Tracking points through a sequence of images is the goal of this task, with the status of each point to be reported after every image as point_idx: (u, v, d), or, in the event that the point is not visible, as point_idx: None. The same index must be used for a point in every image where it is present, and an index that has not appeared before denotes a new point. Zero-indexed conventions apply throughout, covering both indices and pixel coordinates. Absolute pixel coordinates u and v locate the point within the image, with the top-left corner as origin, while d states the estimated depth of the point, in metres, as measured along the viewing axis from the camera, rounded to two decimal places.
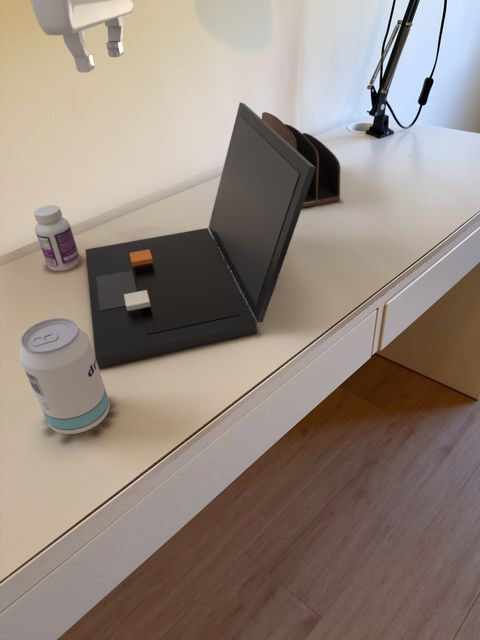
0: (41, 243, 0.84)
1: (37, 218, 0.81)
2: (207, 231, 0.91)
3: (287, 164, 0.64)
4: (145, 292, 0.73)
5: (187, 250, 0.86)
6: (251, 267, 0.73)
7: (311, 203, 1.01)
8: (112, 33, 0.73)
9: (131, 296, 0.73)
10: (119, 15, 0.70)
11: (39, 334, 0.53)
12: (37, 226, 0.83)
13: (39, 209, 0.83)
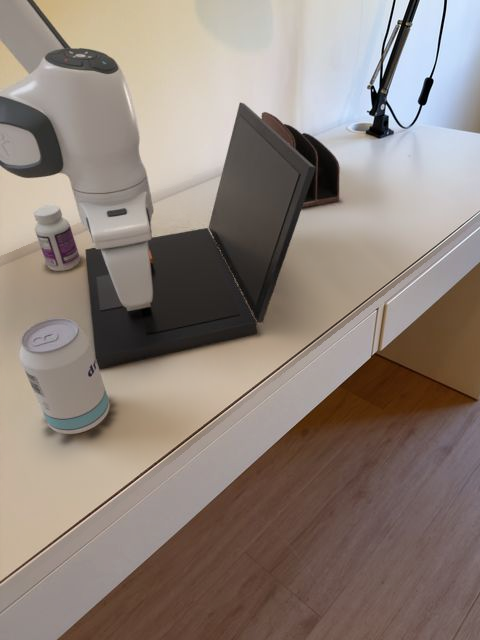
0: (41, 243, 0.84)
1: (37, 218, 0.81)
2: (207, 231, 0.91)
3: (287, 164, 0.64)
4: None
5: (187, 250, 0.86)
6: (251, 267, 0.73)
7: (310, 203, 1.01)
8: None
9: None
10: None
11: (39, 334, 0.53)
12: (37, 226, 0.83)
13: (39, 209, 0.83)
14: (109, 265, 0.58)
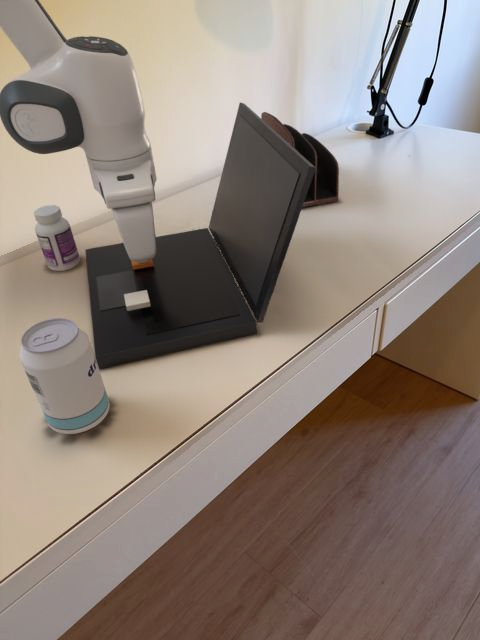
0: (41, 243, 0.84)
1: (37, 218, 0.81)
2: (207, 231, 0.91)
3: (287, 164, 0.64)
4: (145, 292, 0.73)
5: (187, 250, 0.86)
6: (251, 267, 0.73)
7: (309, 203, 1.01)
8: None
9: (131, 296, 0.73)
10: None
11: (39, 334, 0.53)
12: (37, 226, 0.83)
13: (39, 209, 0.83)
14: (119, 222, 0.68)
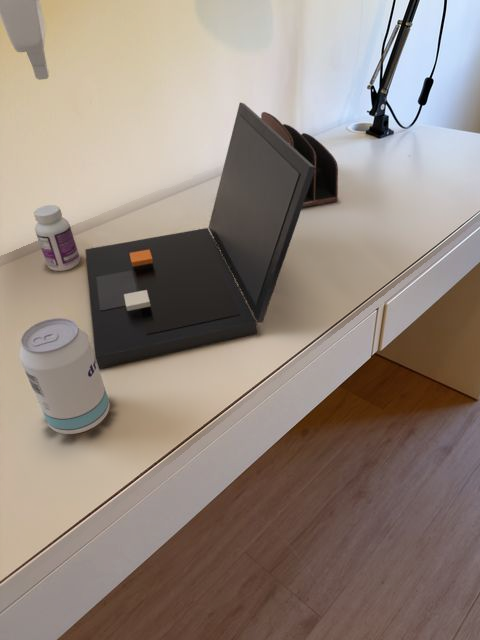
0: (41, 243, 0.84)
1: (37, 218, 0.81)
2: (207, 231, 0.91)
3: (287, 164, 0.64)
4: (145, 292, 0.73)
5: (187, 250, 0.86)
6: (251, 267, 0.73)
7: (308, 203, 1.01)
8: None
9: (131, 296, 0.73)
10: (45, 32, 0.77)
11: (39, 334, 0.53)
12: (37, 226, 0.83)
13: (39, 209, 0.83)
14: None
